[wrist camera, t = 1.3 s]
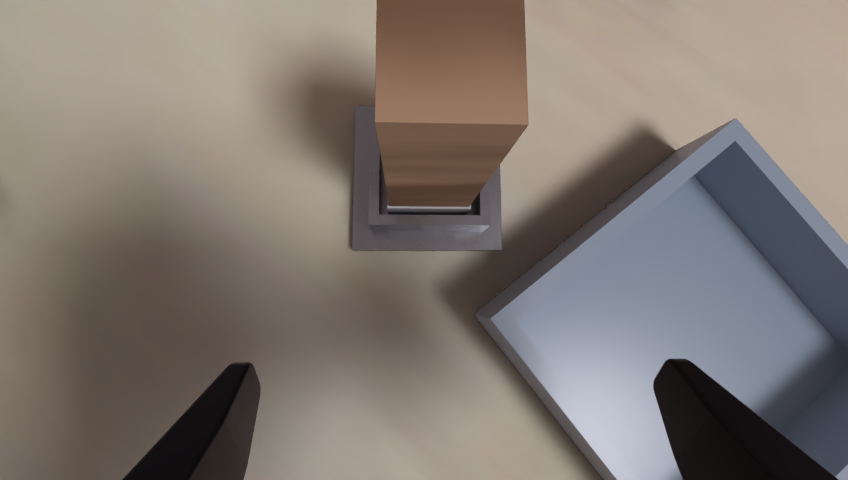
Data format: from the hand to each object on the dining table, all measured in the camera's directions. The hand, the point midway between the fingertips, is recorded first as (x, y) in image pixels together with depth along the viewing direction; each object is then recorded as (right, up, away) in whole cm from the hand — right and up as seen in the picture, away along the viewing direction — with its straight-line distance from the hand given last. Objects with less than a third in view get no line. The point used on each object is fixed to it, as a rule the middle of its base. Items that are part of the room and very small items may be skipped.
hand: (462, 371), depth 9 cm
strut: (-1, +6, +14) cm, 15 cm away
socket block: (-1, +6, +15) cm, 16 cm away
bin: (+12, -3, +14) cm, 19 cm away
